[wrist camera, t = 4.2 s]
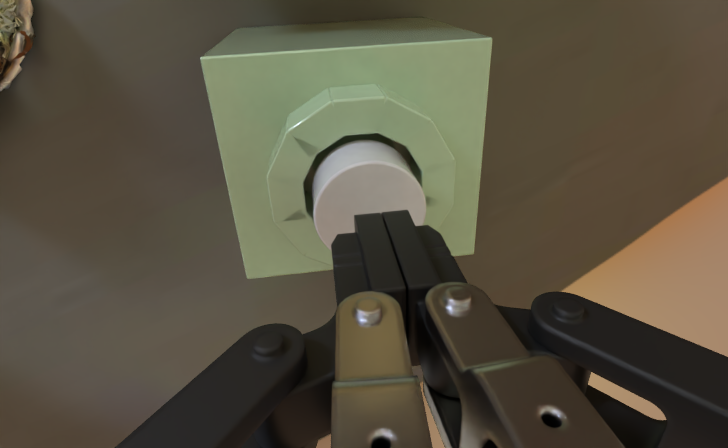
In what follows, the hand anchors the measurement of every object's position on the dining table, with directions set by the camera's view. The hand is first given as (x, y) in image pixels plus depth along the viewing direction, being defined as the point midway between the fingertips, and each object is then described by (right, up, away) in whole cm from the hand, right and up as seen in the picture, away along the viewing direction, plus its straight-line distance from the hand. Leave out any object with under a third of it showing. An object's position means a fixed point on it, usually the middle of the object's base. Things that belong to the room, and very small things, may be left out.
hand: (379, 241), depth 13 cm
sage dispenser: (-2, +7, +13) cm, 15 cm away
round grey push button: (-1, +2, +3) cm, 4 cm away
